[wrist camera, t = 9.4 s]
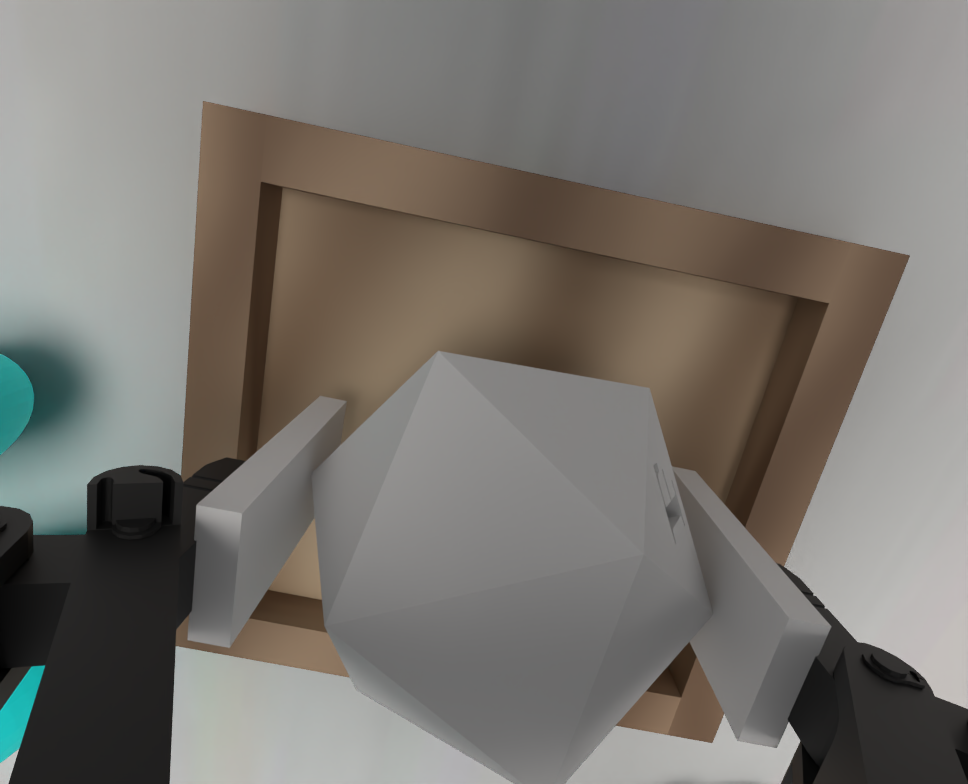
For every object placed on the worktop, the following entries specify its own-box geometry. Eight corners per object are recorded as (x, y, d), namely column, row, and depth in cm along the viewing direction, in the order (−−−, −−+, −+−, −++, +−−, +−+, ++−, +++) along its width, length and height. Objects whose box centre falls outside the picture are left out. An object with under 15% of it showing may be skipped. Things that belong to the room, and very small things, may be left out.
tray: (857, 254, 16) (910, 255, 14) (690, 693, 21) (712, 742, 19) (240, 119, 16) (203, 101, 13) (203, 604, 20) (171, 645, 18)
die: (579, 618, 18) (890, 712, 9) (318, 734, 14) (442, 1069, 6) (519, 382, 19) (753, 273, 10) (257, 432, 15) (286, 325, 7)
